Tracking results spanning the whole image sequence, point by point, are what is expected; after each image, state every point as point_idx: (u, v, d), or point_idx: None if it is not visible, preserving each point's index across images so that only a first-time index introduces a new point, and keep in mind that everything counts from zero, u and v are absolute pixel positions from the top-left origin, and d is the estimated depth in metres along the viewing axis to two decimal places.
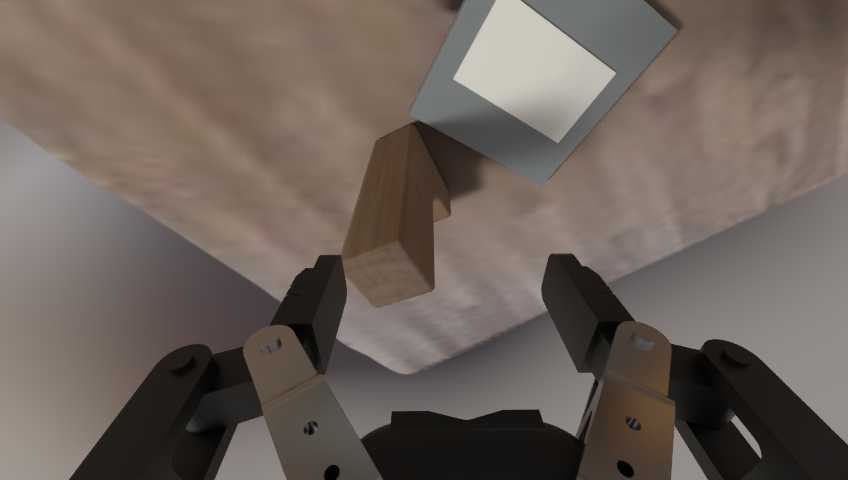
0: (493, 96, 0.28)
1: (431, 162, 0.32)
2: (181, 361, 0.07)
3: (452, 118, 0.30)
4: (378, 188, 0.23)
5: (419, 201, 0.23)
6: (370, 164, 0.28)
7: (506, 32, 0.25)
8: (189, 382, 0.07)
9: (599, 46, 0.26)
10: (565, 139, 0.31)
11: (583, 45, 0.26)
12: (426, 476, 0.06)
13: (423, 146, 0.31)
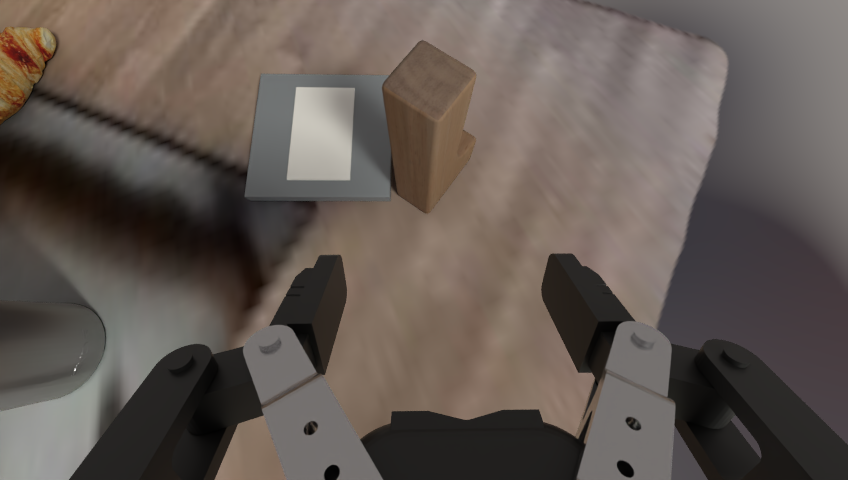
0: (347, 148, 0.37)
1: None
2: (181, 361, 0.07)
3: (376, 166, 0.36)
4: (412, 162, 0.26)
5: None
6: (425, 195, 0.31)
7: (307, 164, 0.36)
8: (189, 382, 0.07)
9: (288, 108, 0.38)
10: (350, 85, 0.39)
11: (292, 116, 0.38)
12: (426, 476, 0.06)
13: None
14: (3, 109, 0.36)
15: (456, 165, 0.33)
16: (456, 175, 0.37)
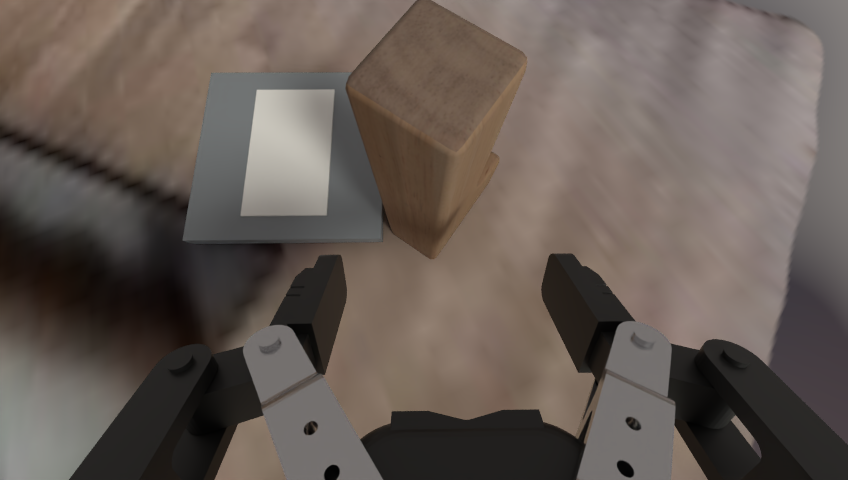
0: (323, 171, 0.27)
1: None
2: (181, 361, 0.07)
3: (362, 195, 0.27)
4: (409, 205, 0.17)
5: None
6: (430, 243, 0.21)
7: (270, 193, 0.27)
8: (189, 382, 0.07)
9: (246, 117, 0.28)
10: (328, 86, 0.29)
11: (251, 129, 0.28)
12: (426, 476, 0.06)
13: None
14: None
15: (473, 197, 0.23)
16: (471, 206, 0.27)
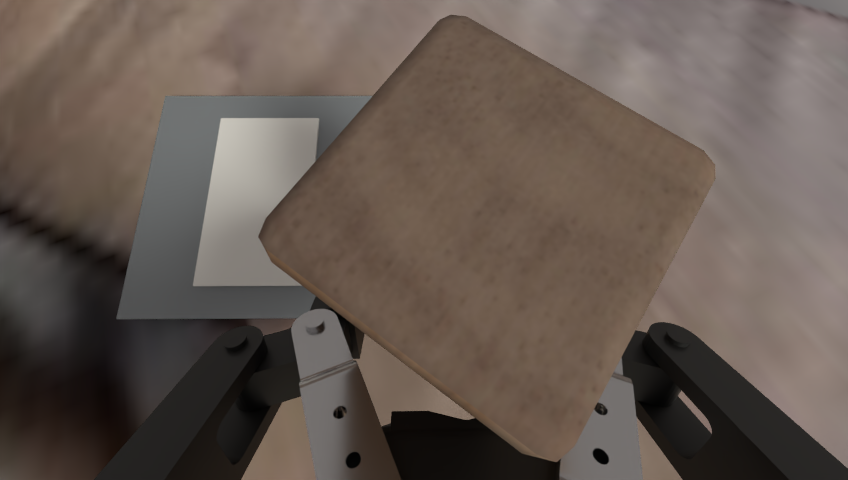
0: None
1: None
2: (236, 340, 0.08)
3: None
4: None
5: None
6: None
7: (232, 255, 0.21)
8: (246, 359, 0.08)
9: (206, 154, 0.22)
10: (311, 113, 0.23)
11: (212, 169, 0.22)
12: (426, 476, 0.06)
13: None
14: None
15: None
16: None
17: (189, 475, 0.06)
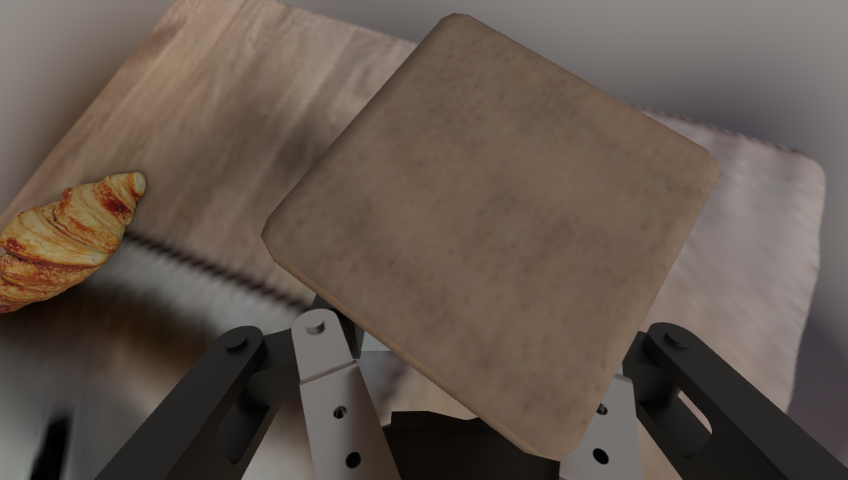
0: None
1: None
2: (236, 340, 0.08)
3: None
4: None
5: None
6: None
7: None
8: (246, 359, 0.08)
9: None
10: None
11: None
12: (426, 476, 0.06)
13: None
14: (102, 261, 0.37)
15: None
16: None
17: (189, 475, 0.06)
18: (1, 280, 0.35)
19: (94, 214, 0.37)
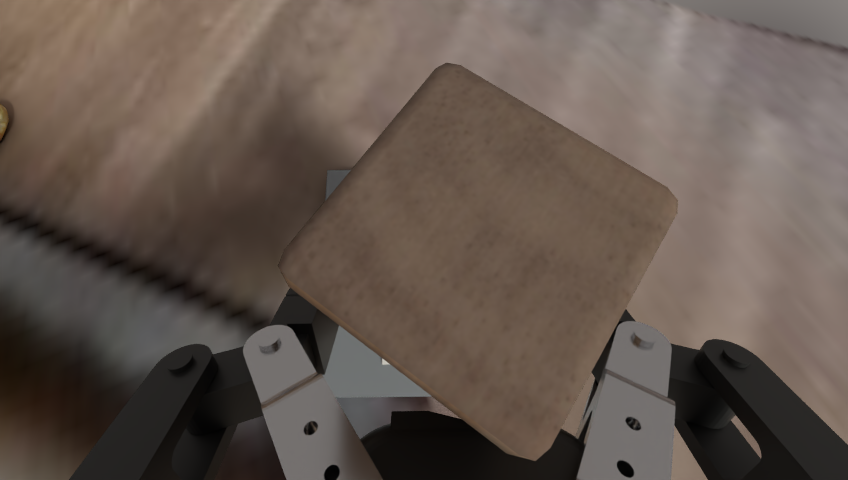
0: None
1: None
2: (181, 360, 0.07)
3: None
4: None
5: None
6: None
7: None
8: (189, 382, 0.07)
9: None
10: None
11: None
12: (426, 476, 0.06)
13: None
14: None
15: None
16: None
17: None
18: None
19: None
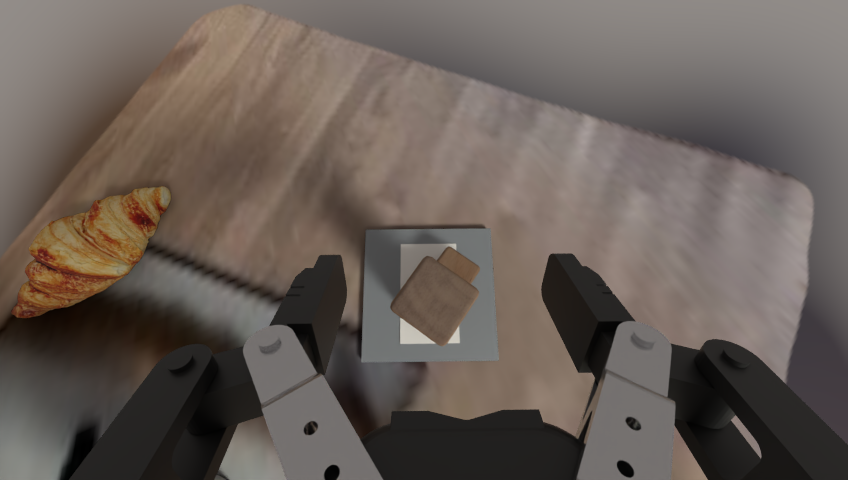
0: None
1: None
2: (181, 361, 0.07)
3: (483, 327, 0.38)
4: None
5: None
6: None
7: None
8: (189, 382, 0.07)
9: (394, 266, 0.40)
10: (451, 240, 0.41)
11: (399, 275, 0.39)
12: (426, 476, 0.06)
13: None
14: (125, 272, 0.39)
15: None
16: None
17: None
18: (29, 287, 0.36)
19: (121, 227, 0.38)
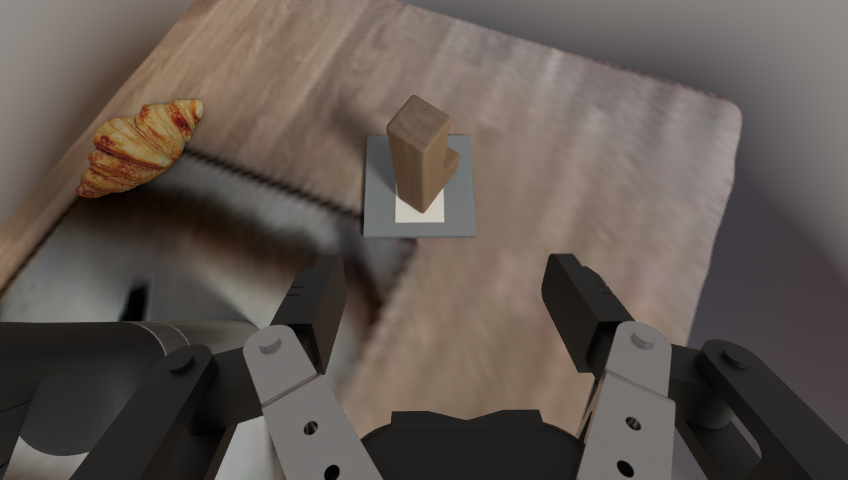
0: (440, 196, 0.47)
1: None
2: (180, 361, 0.07)
3: (463, 210, 0.46)
4: (409, 175, 0.36)
5: None
6: (420, 199, 0.40)
7: (410, 209, 0.46)
8: (189, 382, 0.07)
9: (391, 163, 0.48)
10: None
11: None
12: (426, 476, 0.06)
13: None
14: (167, 165, 0.47)
15: (444, 176, 0.42)
16: (445, 183, 0.46)
17: None
18: (90, 171, 0.45)
19: (165, 126, 0.46)
